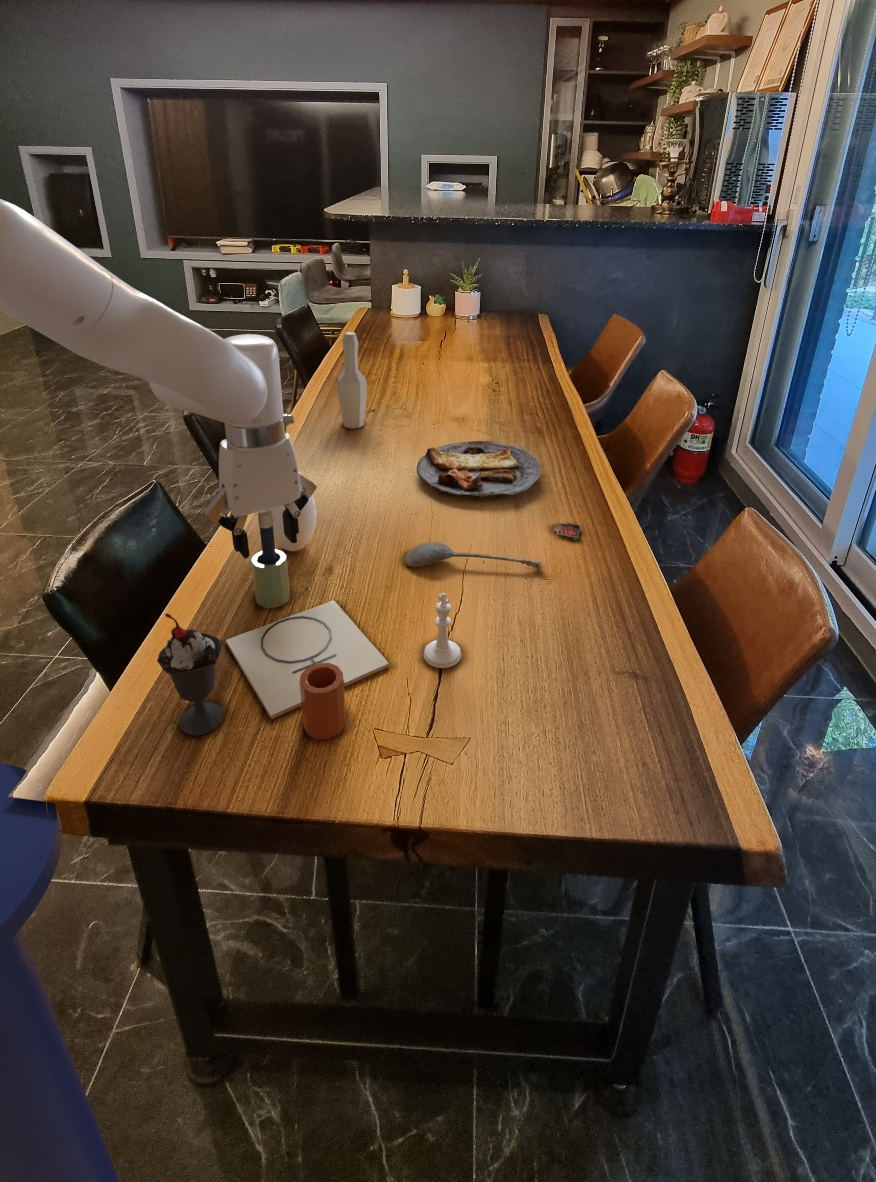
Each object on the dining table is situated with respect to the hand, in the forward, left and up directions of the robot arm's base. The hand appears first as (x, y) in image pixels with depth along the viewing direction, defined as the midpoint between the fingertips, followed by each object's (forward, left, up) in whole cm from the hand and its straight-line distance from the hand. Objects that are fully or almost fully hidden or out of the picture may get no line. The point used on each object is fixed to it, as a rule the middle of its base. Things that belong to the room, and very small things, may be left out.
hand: (267, 545), depth 98 cm
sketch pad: (-1, -14, -9) cm, 17 cm away
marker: (0, 0, -9) cm, 9 cm away
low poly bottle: (+41, +53, -9) cm, 68 cm away
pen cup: (0, 0, -9) cm, 9 cm away
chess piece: (+14, -24, -9) cm, 29 cm away
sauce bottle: (+8, +11, -9) cm, 17 cm away
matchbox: (+50, -10, -9) cm, 52 cm away
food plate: (+50, +16, -9) cm, 53 cm away
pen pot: (-4, -26, -9) cm, 28 cm away
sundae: (-16, -17, -9) cm, 25 cm away
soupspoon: (+30, -9, -9) cm, 33 cm away
